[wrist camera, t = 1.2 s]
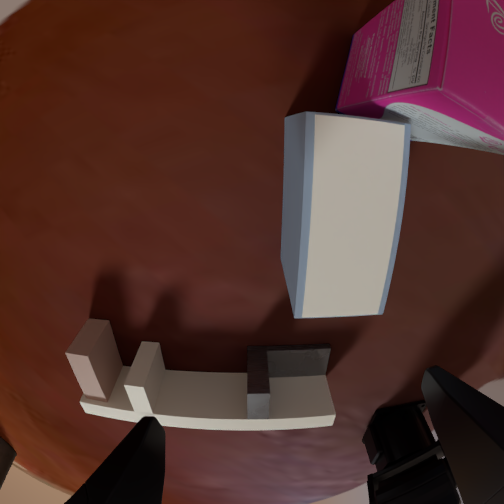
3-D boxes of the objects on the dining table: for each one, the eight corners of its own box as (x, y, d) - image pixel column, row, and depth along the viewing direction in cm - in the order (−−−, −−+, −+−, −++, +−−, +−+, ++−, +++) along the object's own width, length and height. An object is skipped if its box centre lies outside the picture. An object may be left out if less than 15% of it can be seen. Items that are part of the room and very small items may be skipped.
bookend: (329, 343, 23) (343, 388, 19) (324, 370, 24) (335, 414, 20) (247, 346, 23) (247, 393, 19) (247, 372, 24) (247, 419, 20)
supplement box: (428, 65, 15) (557, 46, 5) (410, 142, 17) (544, 176, 7) (351, 30, 15) (453, -46, 4) (331, 111, 17) (438, 100, 6)
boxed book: (356, 122, 17) (412, 124, 11) (345, 257, 21) (383, 315, 14) (284, 117, 17) (306, 111, 10) (280, 257, 21) (294, 319, 14)
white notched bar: (333, 323, 23) (349, 368, 18) (321, 381, 25) (332, 425, 20) (83, 318, 22) (57, 356, 18) (103, 374, 25) (85, 412, 20)
